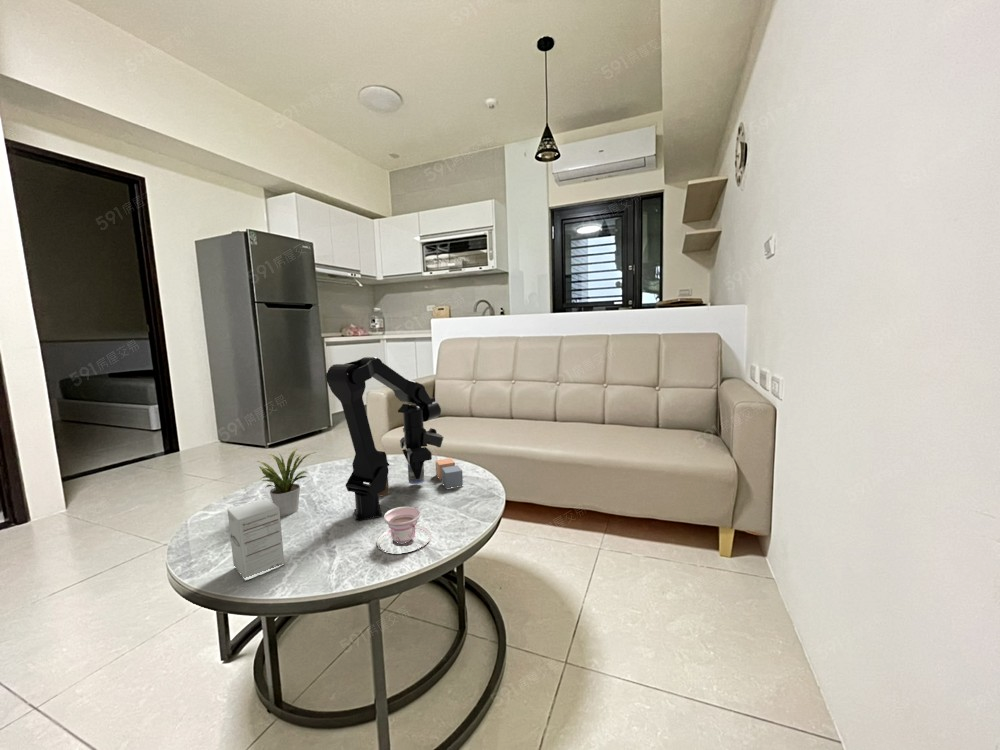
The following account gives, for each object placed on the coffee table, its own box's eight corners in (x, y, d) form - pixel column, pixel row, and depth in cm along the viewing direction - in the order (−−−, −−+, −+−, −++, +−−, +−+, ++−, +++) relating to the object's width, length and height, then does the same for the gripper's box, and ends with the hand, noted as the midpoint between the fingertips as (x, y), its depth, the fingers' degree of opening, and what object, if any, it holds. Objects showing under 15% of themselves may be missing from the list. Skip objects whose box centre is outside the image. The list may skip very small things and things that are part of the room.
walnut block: (389, 494, 114) (388, 477, 113) (370, 497, 112) (369, 480, 111) (387, 488, 118) (386, 472, 118) (369, 491, 116) (368, 475, 116)
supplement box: (232, 568, 79) (226, 508, 78) (273, 552, 85) (267, 496, 83) (243, 583, 74) (236, 519, 73) (285, 565, 80) (280, 506, 78)
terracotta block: (455, 477, 125) (454, 462, 125) (440, 480, 123) (439, 464, 123) (451, 472, 130) (450, 458, 129) (436, 475, 128) (435, 460, 127)
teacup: (367, 541, 89) (365, 514, 88) (414, 522, 97) (412, 498, 96) (393, 562, 80) (391, 533, 79) (442, 540, 88) (441, 513, 87)
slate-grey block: (462, 486, 118) (462, 470, 117) (446, 489, 116) (445, 473, 116) (458, 480, 123) (457, 465, 122) (442, 483, 121) (441, 467, 120)
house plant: (316, 493, 115) (311, 439, 114) (326, 510, 104) (321, 450, 102) (259, 507, 107) (253, 449, 106) (263, 527, 96) (257, 462, 94)
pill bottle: (405, 482, 118) (403, 455, 117) (416, 477, 122) (415, 451, 121) (416, 485, 116) (415, 458, 115) (427, 480, 120) (426, 453, 119)
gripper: (448, 428, 112) (450, 481, 113) (433, 416, 129) (435, 462, 130) (408, 433, 107) (411, 488, 109) (398, 420, 125) (401, 468, 126)
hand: (416, 475), depth 119 cm, fingers closed on pill bottle, 5 cm apart
